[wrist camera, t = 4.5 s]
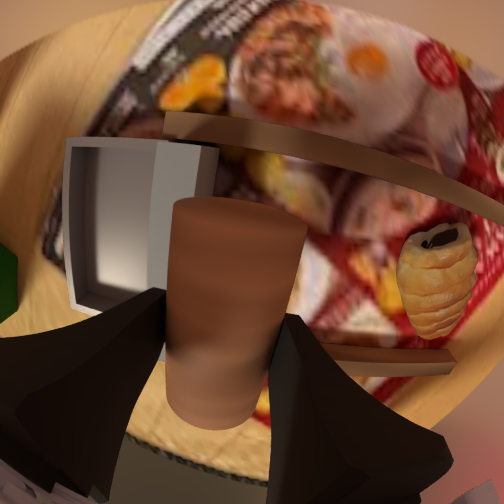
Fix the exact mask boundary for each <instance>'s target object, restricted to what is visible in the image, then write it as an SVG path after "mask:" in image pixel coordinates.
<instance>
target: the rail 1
mask: <svg viewBox="0 0 504 504" xmlns="http://www.w3.org/2000/svg"><path fill="white" fill-rule="evenodd" d="M162 137H164V138H171V139H181V140H190V141H199V142H208V143H216V144H223V145H230V146H237V147H243V148H249V149H255V150H261V151H266V152H272V153H277V154H282V155H287V156H292V157H297V158H301V159H306V160H310V161H315V162H319V163H323V164H327V165H331V166H335V167H339V168H343V169H347V170H350V171H354V172H358V173H361V174H365V175H368V176H372V177H375V178H378V179H382V180H385V181H388V182H391V183H395V184H398V185H401V186H404V187H407V188H410V189H413V190H415V191H418V192H421V193H424V194H427V195H429V196H432V197H435V198H438V199H440V200H443V201H445V202H448V203H450V204H453V205H455V206H458V207H460V208H463V209H465V210H467V211H470V212H472V213H474V214H477V215H479V216H481V217H483V218H486V219H488V220H490V221H492V222H494V223H496V224H499V225H501V226H503V227H504V205H502V204H501V203H499V202H497V201H495V200H493V199H492V198H490V197H488V196H486V195H484V194H482V193H480V192H478V191H476V190H474V189H472V188H470V187H468V186H466V185H464V184H462V183H460V182H458V181H455V180H453V179H451V178H449V177H446V176H444V175H442V174H440V173H437V172H435V171H432V170H430V169H428V168H425V167H423V166H420V165H418V164H415V163H412V162H410V161H407V160H404V159H402V158H399V157H396V156H393V155H390V154H387V153H384V152H381V151H378V150H375V149H372V148H369V147H366V146H363V145H359V144H356V143H353V142H349V141H345V140H342V139H338V138H334V137H331V136H327V135H323V134H319V133H315V132H310V131H306V130H302V129H297V128H292V127H288V126H283V125H277V124H272V123H266V122H261V121H255V120H248V119H242V118H235V117H227V116H219V115H210V114H200V113H189V112H174V111H166V115H165V121H164V126H163V133H162Z"/></svg>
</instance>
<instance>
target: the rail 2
mask: <svg viewBox="0 0 504 504" xmlns="http://www.w3.org/2000/svg"><path fill="white" fill-rule="evenodd" d="M319 343H320V342H319ZM320 344H321V345H322V347H323V348H324V349H325V350H326V352H327V353H328V354H329V355H330V356H331V358H332V359H333V360H334V361H335V362H336V363H337V364H338V365H339V366H340V367H341V369H342V370H343V371H344V372H345V373H346V374H347V375H348V376H362V377H410V376H432V375H447V374H450V372H451V371H452V369H453V368H454V366H455V364H456V363H457V361H456V360H455V359H454V357H453V356H452V355H451V353H450V352H449V351H448V350H432V349H397V348H378V347H363V346H351V345H340V344H330V343H320Z"/></svg>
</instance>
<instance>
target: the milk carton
mask: <svg viewBox="0 0 504 504" xmlns="http://www.w3.org/2000/svg"><path fill="white" fill-rule="evenodd" d="M16 311H18V309H17V257H16V256H15V255H14V254H12V253H11V252H10V251H9V250H8V249H7V248H5V247H4V246H3V245H2V244H1V243H0V324H1V323H2V322H3V321H4V320H6V319H7V318H8V317H10V316H11V315H12V314H14V313H15V312H16Z"/></svg>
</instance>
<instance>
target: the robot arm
mask: <svg viewBox="0 0 504 504" xmlns="http://www.w3.org/2000/svg"><path fill="white" fill-rule="evenodd" d="M165 318H166V290H165V289H160V288H156V287H152V288H150V289H147V290H146V291H144V292H142V293H140V294H138V295H136V296H134V297H132V298H130V299H128V300H126V301H125V302H123V303H121V304H119V305H117V306H115V307H113V308H111V309H108V310H106V311H104V312H102V313H100V314H97V315H95V316H93V317H91V318H88V319H86V320H83V321H81V322H78V323H75V324H72V325H69V326H66V327H62V328H58V329H54V330H50V331H46V332H42V333H37V334H31V335H25V336H17V337H6V338H0V504H43V503H42V502H40V501H39V500H37V498H36V494H35V492H36V493H38V494H39V495H41V496H43V497H44V498H46V499H47V500H49V501H51V502H52V503H54V504H101V503H105V502H107V501H109V495H110V489H111V484H112V479H113V474H114V470H115V466H116V463H117V459H118V455H119V451H120V447H121V444H122V440H123V438H124V434H125V431H126V428H127V425H128V422H129V420H130V417H131V414H132V411H133V409H134V406H135V404H136V402H137V400H138V398H139V396H140V394H141V392H142V390H143V388H144V386H145V384H146V382H147V380H148V378H149V376H150V374H151V372H152V371H153V369H154V367H155V365H156V363H157V361H158V359H159V357H160V354H161V352H162V349H163V346H164V343H165ZM268 386H269V402H270V417H271V448H270V449H269V453H271V454H270V468H269V479H268V490H267V498H266V504H420V503H421V498H420V494H419V493H420V492H422V491H423V490H424V489H426V488H428V487H429V486H430V485H432V484H433V483H434V482H436V481H437V480H438V479H440V478H441V477H442V476H443V475H444V474H446V473H447V472H448V470H449V469H450V468H451V466H452V464H453V461H454V460H453V457H452V455H451V452H450V450H449V448H448V445H447V443H446V441H445V439H444V437H443V436H442V435H440V434H437V433H435V432H433V431H430V430H428V429H426V428H424V427H421V426H419V425H417V424H415V423H413V422H411V421H409V420H408V419H406V418H404V417H402V416H401V415H399V414H397V413H396V412H394V411H393V410H391V409H389V408H388V407H386V406H385V405H384V404H382V403H381V402H379V401H378V400H377V399H375V398H374V397H373V396H371V395H370V394H369V393H368V392H366V391H365V390H364V389H363V388H362V387H360V386H359V385H358V384H357V383H356V382H355V381H354V380H353V379H352V378H350V377H349V376H348V375H347V374H346V373H345V372H344V371H343V370H342V369H341V367H340V366H339V365H338V364H337V363H336V362H335V361H334V360H333V359H332V358H331V356H330V355H329V354H328V353H327V352H326V350H325V349H324V348H323V347H322V345H321V344H320V343H319V342H318V340H317V339H316V338H315V336H314V335H313V334H312V332H311V331H310V329H309V328H308V327H307V325H306V324H305V323H304V321H303V320H302V319H301V317H300V316H299V315H295V314H289V313H285V316H284V319H283V323H282V326H281V329H280V333H279V336H278V339H277V343H276V346H275V349H274V352H273V355H272V359H271V362H270V365H269V370H268ZM34 491H35V492H34ZM449 504H501V503H500V500H499V497H498V495H497V492H496V489H495V487H494V485H493V482H492V480H491V479H489V480H487V481H485V482H483V483H481V484H480V485H478V486H476V487H474V488H472V489H470V490H469V491H467V492H465V493H464V494H462V495H461V496H459V497H458V498H457V499H455V500H454V501H453V502H451V503H449Z"/></svg>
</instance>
